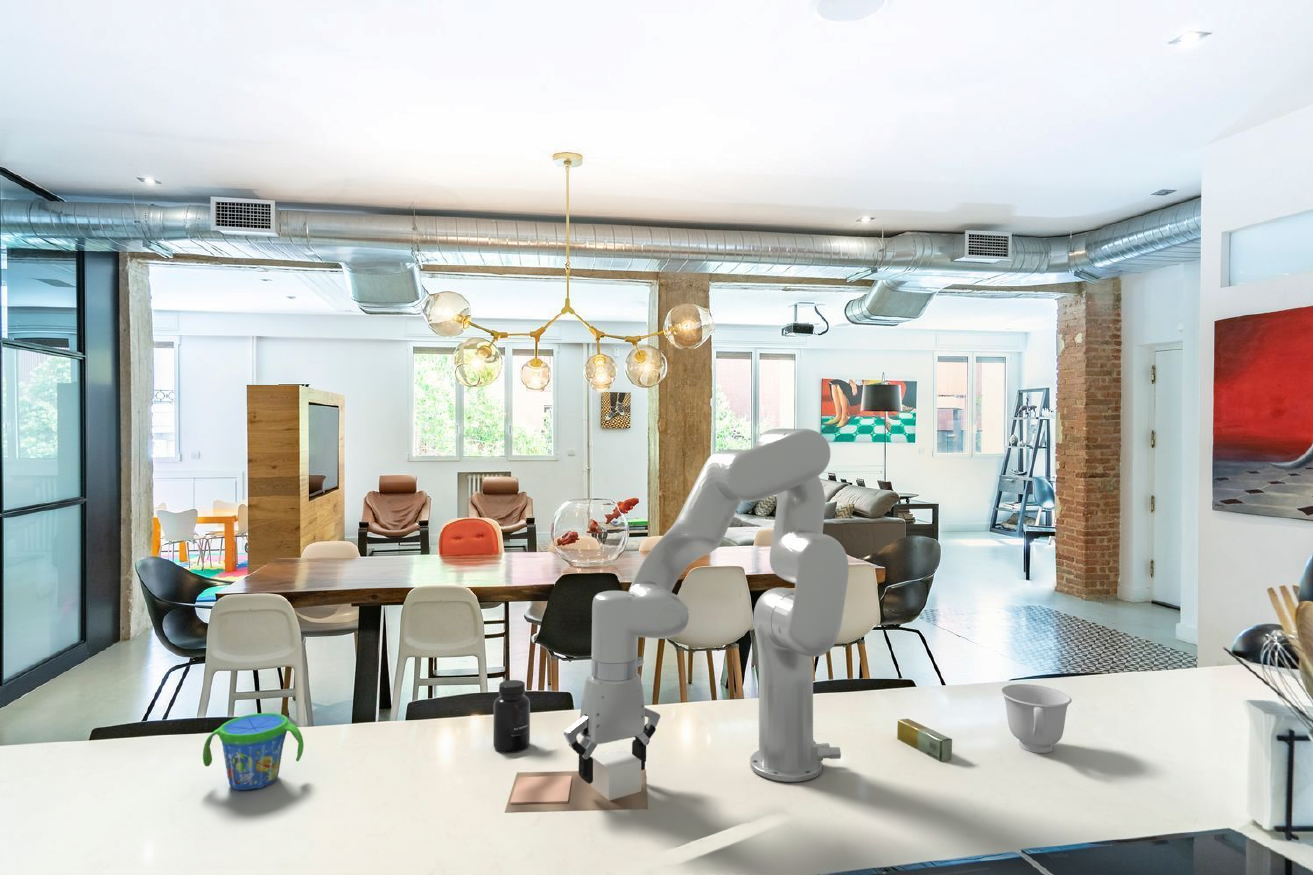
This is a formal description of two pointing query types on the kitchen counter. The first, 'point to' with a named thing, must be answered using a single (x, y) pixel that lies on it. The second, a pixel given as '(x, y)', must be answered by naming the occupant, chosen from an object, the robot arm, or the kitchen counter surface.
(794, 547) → the robot arm
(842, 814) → the kitchen counter surface
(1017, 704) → the teacup
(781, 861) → the kitchen counter surface
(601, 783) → the matte white cube
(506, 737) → the supplement bottle
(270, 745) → the snack cup
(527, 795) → the post board
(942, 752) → the medication box
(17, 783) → the kitchen counter surface
